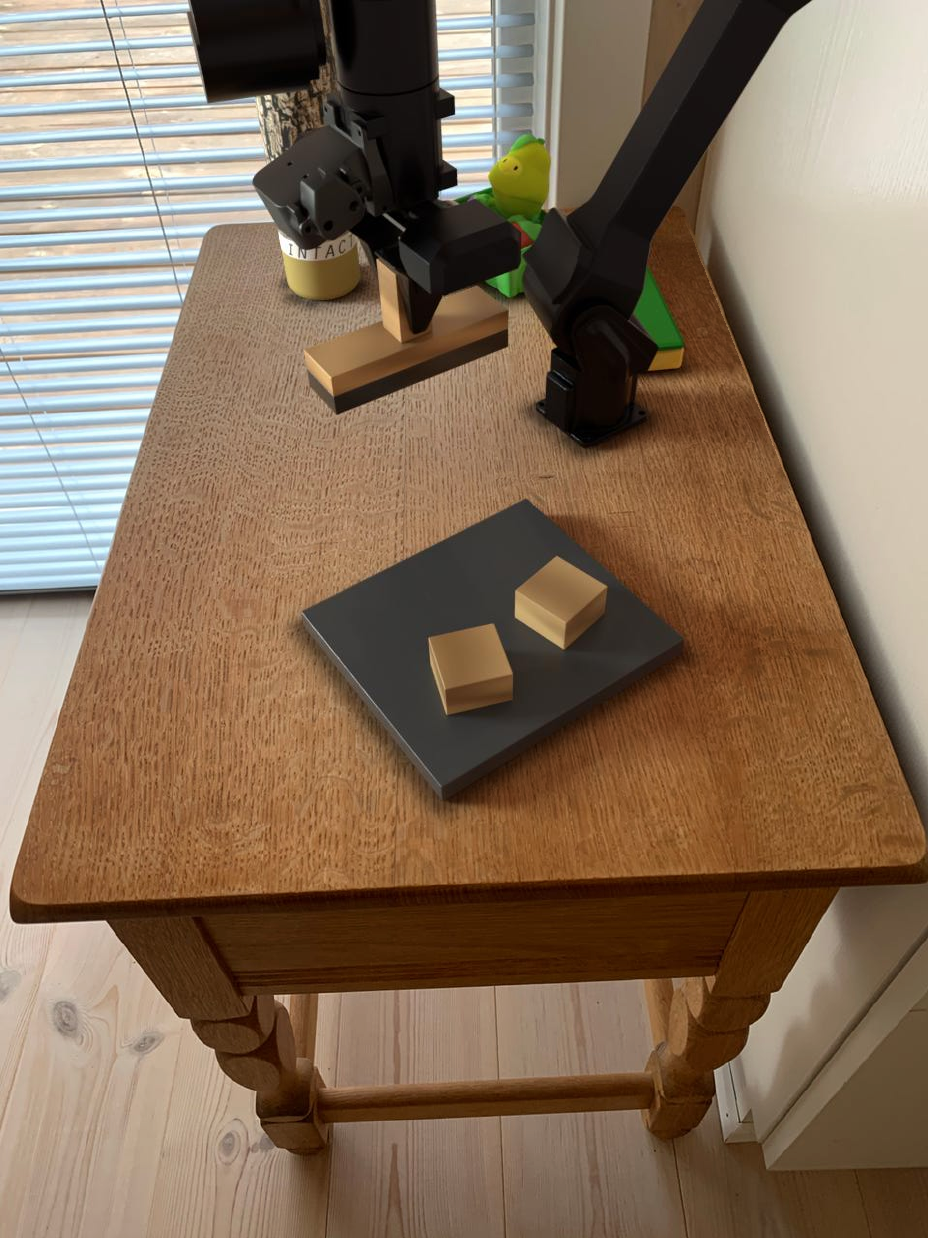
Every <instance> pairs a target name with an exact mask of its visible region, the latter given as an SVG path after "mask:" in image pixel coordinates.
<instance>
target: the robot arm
mask: <svg viewBox="0 0 928 1238" xmlns="http://www.w3.org/2000/svg"><path fill="white" fill-rule="evenodd" d="M812 1H813V0H702V3H701V4H700V6H699V7H698V9H697V11H696V13H695V14H694V17H693V18H692V20H691V22H690V23H689V25H688V27H687V29H686V30H685V32H684V34H683V35H682V38H681V39H680V41H679V43H678V45H677V46H676V48H675V50H674V51H673V54H672V56H671V57H670V59H669V61H668V62H667V64H666V65H665V67H664V70H663V71H662V73H661V75H660V77H659V78H658V80H657V81H656V83H655V85H654V87H653V88H652V91H650V94H649V96H648V98H647V100H646V102H644V105H643V107H642V109H641V110H640V112H639V113H638V116H637V117H636V119H635V120H634V123H633V124H632V126H631V127H630V130H629V131H628V133H627V135H626V137H625V139H624V140H623V142H622V144H621V146H620V147H619V149H618V151H617V152H616V154H615V156H614V158H613V160H612V161H611V163H610V165H609V167H608V168H607V170H606V172H605V174H604V176H603V177H602V179H601V181H600V183H599V184H598V186H597V188H596V190H595V191H594V193H593V194H592V196H591V197H590V198H589V199H588V200H587V201H586V202H584V203H583V204H582V205H580V206H578V207H577V208H576V209H574V210H573V211H571V212H570V213H568V214H565V213H563V211H561V210H559V209H558V208H557V207H554V206H553V207H551V208H550V209H549V211H548V212H547V215H546V216H545V219H544V221H543V224H542V227H541V230H540V232H539V234H538V237H537V238H536V240H535V241H534V243H533V244H532V245H531V247H529V248H528V249H527V250H526V251H525V252H524V253H523V254H522V258H523V259H524V261H525V262H526V267H525V270H524V272H523V276H522V285H523V289H524V292H523V293H524V296H525V299H526V301H527V303H528V304H529V305H530V307H531V309H532V310H533V312H534V313H535V315H536V317H537V319H538V320H539V321H540V323H541V325H542V327H543V328H544V330H545V332H546V333H547V336H548V337H549V338H550V340H551V341H552V343H553V344H554V345H555V347H554V348H552V349H550V365H549V371H548V372H546V375H545V377H546V378H545V396H544V397H545V398H543V399H541V400H538V401H537V402H536V403H535V411H536V412H537V413H539V414H540V415H541V416H542V417H544V418H545V419H546V421H549V422H550V423H551V424H552V425H553V426H555V427H556V428H557V429H559V431H561V432H562V433H563V434H565V435H566V436H567V437H569V438H570V439H571V440H572V441H574V442H575V443H576V444H577V445H578V446H580V447H581V448H583V449H591V448H593V447H595V446H596V445H599V444H601V443H603V442H605V441H606V440H607V441H608V440H609V439H611V438H613V437H614V436H618V435H619V434H621V433H623V432H625V431H627V430H629V429H632V428H633V427H636V426H637V425H639V424H641V423H644V422H645V421H647V420H648V417H649V412H648V410H646V409H645V408H644V407H642V406H641V405H640V404H638V403H637V402H636V397H637V389H638V381H639V374H643V373H647V372H649V371H648V370H649V368H650V366H651V364H652V362H653V359H654V357H655V355H656V353H657V351H658V349H659V347H658V345H657V344H656V342H655V341H654V340H653V338H652V337H651V335H650V334H649V333H648V331H647V330H646V329H645V327H644V326H643V325H642V323H641V322H640V321H639V319H638V318H637V317H636V315H635V314H634V310H635V308H636V306H637V303H638V301H639V299H640V297H641V295H642V292H643V289H644V284H645V278H646V271H647V265H648V264H649V259H650V258H649V257H650V253H651V245H652V242H653V240H654V238H655V235H656V234H657V232H658V230H659V229H660V227H661V225H662V224H663V222H664V220H665V219H666V217H667V215H668V214H669V212H670V211H671V209H672V207H673V206H674V204H675V203H676V201H677V199H678V198H679V196H680V195H681V193H682V191H683V190H684V188H685V186H686V185H687V183H688V182H689V180H690V178H691V177H692V175H693V173H694V172H695V170H696V168H697V167H698V166H699V164H700V162H701V161H702V160H703V157H704V156H705V154H706V153H707V151H708V149H709V148H710V146H711V144H712V143H713V141H714V140H715V138H716V136H717V135H718V133H719V132H720V130H721V129H722V127H723V125H724V124H725V122H726V120H727V119H728V116H729V115H730V114H731V112H732V110H733V109H734V107H735V106H736V104H737V103H738V101H739V100H740V97H742V94H743V93H744V91H745V90H746V88H747V86H748V84H749V83H750V82H751V80H752V78H753V77H754V75H755V73H756V72H757V70H758V69H759V67H760V65H761V64H762V62H763V60H765V57H766V56H767V54H768V52H769V50H770V49H771V47H772V46H773V44H774V43H775V41H776V39H777V38H778V36H779V34H780V33H781V31H782V30H783V29H784V26H786V24H787V23H788V21H789V20H790V19H791V18H792V17H793V16H794V15H795V14H796V13H797V12H799V11H801V10H802V9H803V8H804V7H806V6H807V5H808V4H810V3H812ZM187 2H188V8H189V10H188V11H186V17H187V21H188V25H189V26H188V27H189V31H190V34H191V36H190V37H191V40H192V45H193V48H194V53H195V58H196V62H197V63H196V64H197V66H198V71H199V76H200V79H201V84H202V88H203V93H204V97H205V100H206V104H215V103H222V102H231V101H236V100H237V101H238V100H244V99H251V98H255V97H259V96H267V95H274V94H281V93H288V92H295V91H303V90H309V89H310V81H312V80H319V79H320V72H319V67H321V66H326V60H327V56H326V43H325V34H324V27H323V21H322V15H321V8H320V1H319V0H187ZM328 2H329V11H330V20H331V28H332V37H333V45H334V54H335V62H336V71H337V80H338V89H339V90H336V91H333V92H329V93H326V99H327V101H326V102H324V103H323V112H324V126H323V127H320V128H316V129H313V130H309V131H306V132H302V133H299V134H298V136H297V138H296V139H295V141H294V143H293V144H292V146H291V147H290V148H289V149H287V150H286V151H285V152H283V153H282V154H281V155H279V156H278V157H277V158H275V159H274V160H273V161H271V162H270V163H269V164H266V165H265V166H263V167H262V168H261V169H259V170H258V171H257V172H256V173H255V175H254V176H253V178H252V181H251V182H252V183H251V184H252V186H253V188H254V190H255V191H256V193H257V194H258V197H259V198H260V200H261V201H262V203H263V205H264V206H265V209H266V210H267V212H268V214H269V215H270V217H271V218H272V220H273V222H274V224H275V226H276V227H277V229H278V228H279V230H281V231H283V232H284V233H285V234H286V235H287V236H288V237H290V238H291V239H292V240H293V241H294V242H295V244H296V245H297V246H298V247H299V248H300V249H303V250H311V249H315V248H317V247H319V246H320V245H322V244H323V243H324V242H325V241H326V240H331V241H333V240H336V239H337V238H338V237H340V236H341V235H342V234H344V233H345V232H346V231H349V232H351V233H352V234H354V235H355V236H356V237H357V240H358V241H359V244H360V246H361V248H362V250H363V252H364V254H365V257H366V259H367V262H368V264H369V267H370V269H371V271H372V274H373V276H374V278H375V281H376V284H377V286H378V287H379V279H378V269H377V259H378V258H381V259H382V260H383V261H384V262H385V263H386V264H388V265H389V266H390V267H391V268H392V269H394V270H395V271H396V272H397V275H398V280H399V284H400V289H401V294H402V299H403V303H404V308H405V313H406V317H407V321H408V324H409V328H410V331H411V332H412V333H413V334H414V335H416V334H419V333H421V332H424V331H426V330H427V328H428V326H429V324H430V322H431V320H432V318H433V316H434V314H435V312H436V309H437V307H438V305H439V303H440V301H441V299H442V298H444V297H446V296H449V295H450V294H451V295H452V294H455V293H457V292H460V291H463V290H465V289H468V288H471V287H474V286H476V285H479V284H480V283H484V281H486V280H489V279H492V278H494V277H497V276H500V275H503V274H505V273H508V272H511V271H513V270H516V269H519V266H520V263H521V231H520V230H518V229H517V228H516V227H515V226H514V225H512V224H511V223H510V222H509V221H507V220H506V219H505V218H503V217H502V216H500V215H499V214H497V213H496V212H494V211H493V210H492V209H490V208H489V207H487V206H486V205H484V204H483V203H481V202H480V201H479V200H477V199H473V200H470V201H467V202H464V203H461V204H459V203H457V202H455V201H452V200H453V199H452V200H451V199H445V200H443V199H442V200H441V199H440V198H439V197H440V192H443V191H446V190H450V189H452V188H455V187H457V186H458V184H459V183H458V181H459V179H458V168H457V167H455V166H454V165H452V164H450V163H449V162H447V161H446V160H445V159H444V154H443V153H444V152H443V133H442V119H446V118H449V117H452V116H455V115H456V95H454V94H452V93H450V92H449V91H447V90H445V89H444V88H443V87H441V86H440V66H439V42H438V41H439V40H438V20H437V17H438V16H437V0H328ZM648 266H649V265H648Z"/></svg>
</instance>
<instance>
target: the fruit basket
mask: <svg viewBox="0 0 928 1238" xmlns="http://www.w3.org/2000/svg"><path fill="white" fill-rule="evenodd" d="M545 144H546V140H545V139H544V138H542V137H538V138H537V137H535V136H534V135H533V134H530V133H525V134H523V135H521V136H519V137H518V138H517V139H516V140H515V142H514V143H513V144H512V147H510V148H509V152H508V154H505V155H504V156H502V157H501V158H500V159H499V160H498V161H496V162H495V164H494V165H493V166H492V168H491V169H490V171H489V174H488V176H487V178H488V181H489V183H490V186H491V187H487V188H484V189H482V190H479V191H474V192H472V193H469V194H466V195H464V196H461V197H457V198H455V199H452V201H455V202H457V203H459V204H461V203H464V202H467V201H470V200H473V199H477V200H479V201H480V202H481V203H483V204H484V205H486V206H487V207H489V208H490V209H492V210H493V211H494V212H496V213H497V214H499V215H500V216H502V217H503V218H505V219H506V220H507V221H509V222H510V223H511V224H512V225H514V226H515V227H516V228H517V229H518V230H520V231H521V263H520V266H519V269H516V270H513V271H511V272H508V273H505V274H503V275H500V276H497V277H494V278H492V279H489V280H486V281H483V283H486V284H487V285H489V286H491V287H492V288H495V289H497V290H498V291H499V292H500V293H501V294H503V295H504V296H506V297H507V298H513V297H515V296H516V295H518V294H521V293H524V289H523V285H522V276H523V272H524V270H525V267H526V262H525V261H524V259H523V258H522V254H523V253H524V252H525V251H526V250H527V249H528V248H529V247H531V245H532V244H533V243H534V241H535V240H536V238H537V237H538V234H539V232H540V230H541V227H542V224H543V221H544V219H545V216H546V215H547V213H548V212H547V211H546V210H544V209H543V206H544V205H545V203H546V201H547V199H548V196H549V192H550V170H551V165H552V157H551V155H550V153H549V151H548V149H547V148H546V147H545Z"/></svg>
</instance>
